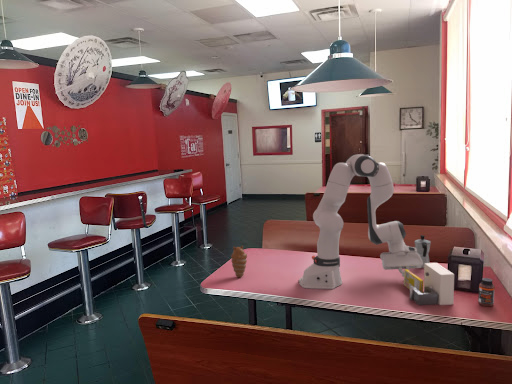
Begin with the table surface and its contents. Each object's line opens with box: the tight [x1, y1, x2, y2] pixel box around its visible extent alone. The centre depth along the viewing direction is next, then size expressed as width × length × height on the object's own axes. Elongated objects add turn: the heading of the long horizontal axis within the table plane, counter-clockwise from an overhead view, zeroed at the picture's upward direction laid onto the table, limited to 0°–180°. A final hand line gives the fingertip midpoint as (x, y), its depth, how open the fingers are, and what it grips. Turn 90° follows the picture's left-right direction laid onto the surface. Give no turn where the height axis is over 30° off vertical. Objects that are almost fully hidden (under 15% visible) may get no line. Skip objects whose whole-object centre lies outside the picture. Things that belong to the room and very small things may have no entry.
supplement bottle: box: [477, 277, 496, 307], centre depth 172 cm, size 6×6×11 cm
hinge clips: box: [409, 285, 438, 306], centre depth 178 cm, size 11×8×6 cm
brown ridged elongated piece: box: [230, 245, 248, 278], centre depth 217 cm, size 9×8×18 cm
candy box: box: [403, 269, 424, 293], centre depth 189 cm, size 16×2×8 cm, turn 4°
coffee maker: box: [414, 234, 432, 269], centre depth 223 cm, size 15×9×18 cm, turn 168°
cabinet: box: [423, 262, 455, 306], centre depth 180 cm, size 7×16×14 cm, turn 1°
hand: (405, 276), depth 198 cm, fingers closed, pressing on candy box
